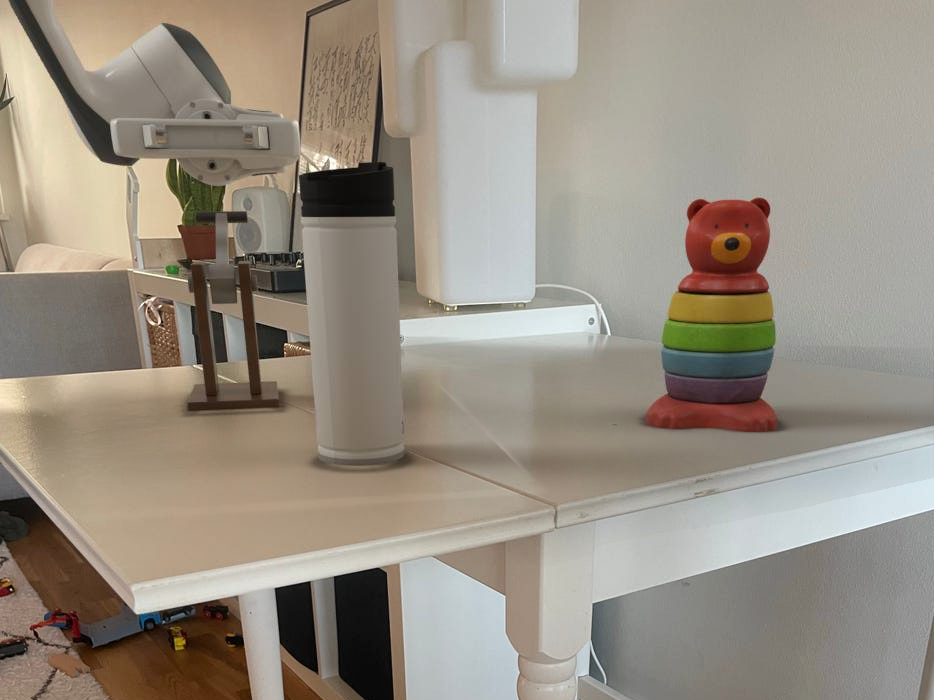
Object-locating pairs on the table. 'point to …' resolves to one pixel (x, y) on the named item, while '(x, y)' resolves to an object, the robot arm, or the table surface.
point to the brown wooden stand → (212, 391)
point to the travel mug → (353, 313)
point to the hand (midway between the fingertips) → (204, 134)
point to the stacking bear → (720, 324)
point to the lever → (222, 255)
